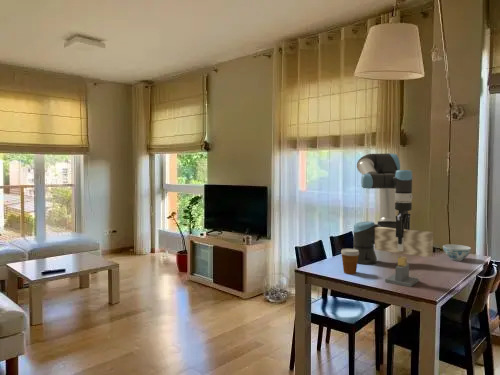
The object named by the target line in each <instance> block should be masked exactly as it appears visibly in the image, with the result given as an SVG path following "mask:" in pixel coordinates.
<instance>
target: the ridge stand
mask: <svg viewBox="0 0 500 375" xmlns="http://www.w3.org/2000/svg"><path fill="white" fill-rule="evenodd" d="M394 268H395V273H393V274H392V275H390V276H388V277H387V278H384V281H385V283H387V284H393V285H394V284H395V285H398V286H403V287H409V288H411V287H413V286H414V285H416V284H417V283H419V281H420V278H419V277H413V276H410V275H409V274H410V263H408V256H402V255H400V256H398V257H397V265H396V266H395V267H394Z"/></svg>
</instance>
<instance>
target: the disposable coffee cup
mask: <svg viewBox="0 0 500 375" xmlns="http://www.w3.org/2000/svg"><path fill="white" fill-rule="evenodd" d="M340 253H341V254H340V255H341V258H342V260H341V261H342V268H343V273H344V274H347V275H355V274H356V273H357V268H358V263H357V262H358V255H359V251H358V250H357V249H353V248H342V249H341V251H340Z"/></svg>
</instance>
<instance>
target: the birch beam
mask: <svg viewBox="0 0 500 375" xmlns="http://www.w3.org/2000/svg"><path fill="white" fill-rule="evenodd" d="M403 237H404V251H398V250H397V245H398V237H396V228H387V227H376V228H375V244H374V251H381V252H382V251H383V252H390V253H396V254H403V255H410V256H419V257H424V258H431V257H433V254H434V252H433V251H434V250H433V249H434V231H426V230H417V229H410V230H407V229H404V232H403Z"/></svg>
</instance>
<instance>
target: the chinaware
mask: <svg viewBox="0 0 500 375" xmlns="http://www.w3.org/2000/svg"><path fill="white" fill-rule="evenodd" d="M442 249H443V251H444V253H445V254H446V256H447V257H448V258H449V259H450V260H452V261H456V262H462V261H463V259H465V258H467V257H468V256H469V254H470V253H471V251H472V247H470V246H467V245H462V244H453V243H452V244H449V243H448V244H443V245H442Z"/></svg>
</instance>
